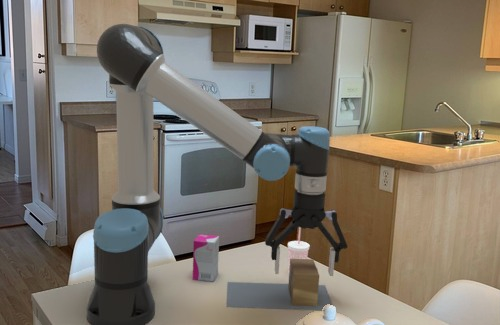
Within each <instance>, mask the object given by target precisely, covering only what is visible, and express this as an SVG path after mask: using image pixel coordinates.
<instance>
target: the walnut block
mask: <svg viewBox="0 0 500 325" xmlns="http://www.w3.org/2000/svg"><path fill="white" fill-rule="evenodd" d="M319 283H320V274H319V270H318V268H317V265H316V263H315V261H314V259H313V258H312V259H310V258H309V259H308V258H307V259H290V269H289V273H288V283H287V284H288V288H289V293H290V297H291V302H292V305H296V306H317V298H318V286H319V285H320V284H319Z"/></svg>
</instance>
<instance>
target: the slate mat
mask: <svg viewBox="0 0 500 325" xmlns="http://www.w3.org/2000/svg"><path fill="white" fill-rule="evenodd" d="M226 283H227V284H226V286H227V288H226V308H237V309H241V308H242V309H266V310H267V309H269V310H271V309H272V310H300V311H301V310H303V311H323V310H322V309H323V307H324V306H325V305H327V304H330V305H333V303H332V300H331V296H330V294H329V293H328V290H327V286H326V285H324V284H319V286H318V298H317V306H296V305H292V302H291V297H290V293H289V288H288V284H289V283H271V282H267V283H266V282H244V281H243V282H239V281H227V282H226Z"/></svg>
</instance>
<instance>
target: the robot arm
mask: <svg viewBox="0 0 500 325" xmlns="http://www.w3.org/2000/svg"><path fill="white" fill-rule="evenodd" d="M96 55H97V60H98V63H99V64H100V65H101V68H102V69H104V71H105V72H106V73H107V74H108V76H109V78H108V82H109V86H110V87H111V88H112V89H113V91H115V94H116V96H115V98H116V103H115V104H116V144H117V145H116V149H117V150H116V152H117V157H116V158H117V191H116V192H115V193H114V194H113V195H112V196H111V210H110V211H106V212H103V213H102V214H100V215H99V216H97V218H96V219H95V221H94V222H95V223H94V224H93V226H94V228H93V235H92V237H93V252H94V253H93V255H94V256H93V258H94V260H93V262H94V263H93V264H94V285H93V288H92V291H91V294H90V297H89V300H88V303H87V304H86V305H87V306H86V318H87V320H88V322H89V324H91V325H146V324H147V323H149V322H150V321H151V320H152V319H153V318H154V316H155V313H156V302H155V298H154V296H153V293H152V290H151V286H150V285H149V280H148V276H149V275H148V272H149V270H148V268H149V267H148V266H149V264H148V263H149V262H148V260H149V252H150V250H151V248H152V247H153V245H154V244H155V242H156V240H157V239H158V238H159V236H161V233H162V230H163V227H164V214H163V210H162V208H161V196H160V194H159V193H158V191H156V190H155V187H154V186H155V185H154V182H155V181H154V179H155V178H154V175H155V173H154V172H155V171H154V170H155V169H154V168H155V166H154V161H155V160H154V158H155V157H154V155H155V154H154V142H155V141H154V99H155V100H156V101H157V102H159V103H160V104H161V105H164V106H165V107H166V108H168V109H169V110H170V111H172V112H173V113H175V115H178V116H179V117H181V118H182V119H183V120H185V122H187V123H189V124H190V125H192V126H193V127H194V128H196V129H198V130H199V131H201V132H202V133H203V134H205V135H206V136H208V137H209V138H210V139H212V140H213V141H215V142H216V143H218V144H219V145H221V147H223V148H225V149H226V150H227V151H229V152H230V153H231V154H234V156H236V157H238V158H239V159H241V161H243V162H245V163H246V164H247V165H248V166H250V167H251V168H253V170H254V171H255V172H256V174H257V176H259V177H260V178H261V179H262V180H265V181H270V182H272V181H274V182H275V181H278V180H280V179H282V178H284V177H285V175H286V174H287V173H288V171H289V168H290V167H296V168H295V178H294V189H295V190H294V192H293V205H292V209H286V208H285V207H283V206H282V207H281V208H280V209H279V212H278V213H279V214H278V216H277V219H276V220H275V222H274V224H273V225H272V227H271V228H270V230H269V232H268V233H267V235H266V237H265V238H264V244H265V245H266V246H267V247H268V246H269V247H271V252H270V258H271V261H274V273H275V275H279V273H280V272H279V270H280V260H281V259H280V258H281V257H280V255H281V247H280V246H281V244H282V243H283V242H284V241H285V240H286V239H288V237H289V236H290V235H292V233H293V232H294V231H296V230H297V229H299V227H300V228H301V229H309V230H311V229H312V230H315V229H316V228H318V230H319V231H320V232H321V233H322V234H323V236H324V237H325V238H326V240H327V241H328V242H329V244H330V245H331V246H332V247H331V246H330V248H329V258H328V259H329V260H328V269H327V270H328V271H327V272H328V275H329V276H330V277H334V269H335V263H339V260H340V252H341V250H346V249H347V248H348V244H347V242H346V239H345V236H344V234H343V231H342V230H341V226H340V225H339V222H338V213H337V212H336V210H335V209H331V210H329V211H328V210H327V211H325V203H326V201H325V200H326V190H327V179H328V178H327V177H328V169H329V168H328V166H329V156H330V149H331V148H330V140H331V139H330V137H331V135H330V134H331V133H330V131H329V130H328V129H327V128H325V127H321V126H311V125H310V126H307V125H306V126H305V125H304V126H301V127H299V128H298V131H297V134H283V133H281V134H280V133H269V132H268V133H267V132H263V131H262V130H261V129H260V128H258V127H257V126H256V125H254V124H252V123H251V122H250V121H248V120H247V119H246V118H244V117H243V116H241V115H240V114H239V113H237V112H236V111H234V110H233V109H232V108H230V107H229V106H227V105H226V104H224V102H222V101H220V100H219V99H217V97H215V96H213V95H212V94H210V92H208V91H207V90H205V89H203V88H202V87H201V86H200V85H198V84H196V83H195V82H194V81H192V80H191V79H189V78H188V77H187V76H185V75H184V74H183V73H181V72H179V71H178V70H177V69H175V68H174V67H173V66H172V65H170V64H169V63H168V62H166V60H165V55H164V47H163V45H162V43H161V41H160V39H159V38H158V37H157V36H156V35H155V33H153V31H152V30H150V29H148V28H146V27H143V26H138V25H132V24H128V23H117V24H113V25H111V26H109V27H108V28H107V29H105V30H104V31H103V32H102V34H101V35H100V36H99V38H98V41H97V44H96ZM289 216H291V217H292V220H291V221H290V222H289V224H288V225H287V226H286V227H285V228H284V229H283V230H282V231H281V232H280V233H279V234H278V232H279V231H280V228H281V227H282V225H283V224H284V222H285V220H286V219H288V218H289ZM325 218H327V219H328V220H329V221H331V223H332V226H333V228H334V230H335V234H336V235H337V237H338V240H339V242H337V241H336V239H335V238H334V236H332V234H331V233H330V232H329V230H328V229H327V228H326V226H324V224H323V221H324V220H325ZM277 234H278V235H277ZM276 235H277V236H276Z"/></svg>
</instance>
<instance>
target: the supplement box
mask: <svg viewBox="0 0 500 325" xmlns="http://www.w3.org/2000/svg"><path fill="white" fill-rule="evenodd" d="M192 249H193V250H192V253H193V255H192V280H193V281H200V282H205V283H206V282H208V283H214V282H215V280H216V278H217V277H218V275H219V255H220V254H219V252H220V251H219V249H220V236H219V235H211V234H202V233H201V234H198V235H197V236H196V238H195V239H194V240H193V248H192Z"/></svg>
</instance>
